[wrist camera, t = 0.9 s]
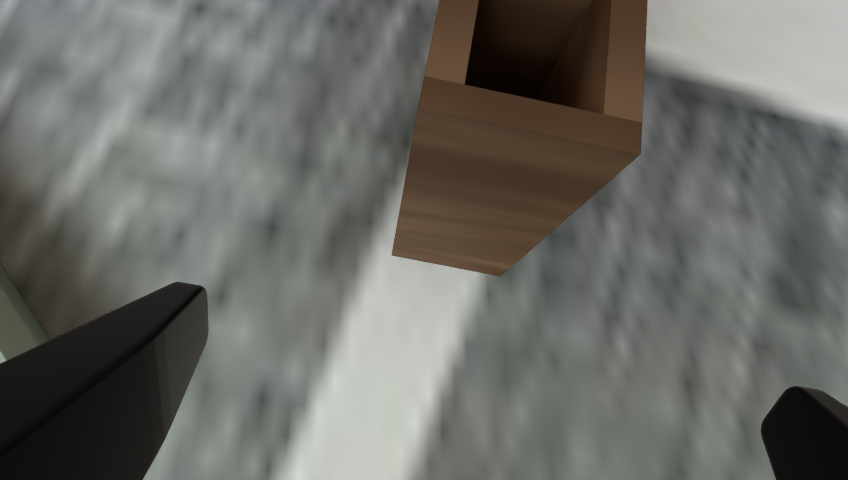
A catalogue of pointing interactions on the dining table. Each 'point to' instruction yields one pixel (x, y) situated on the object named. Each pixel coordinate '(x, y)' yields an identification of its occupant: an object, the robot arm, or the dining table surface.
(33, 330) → the green square tray
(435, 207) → the walnut crate
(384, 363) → the dining table surface
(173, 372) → the robot arm
